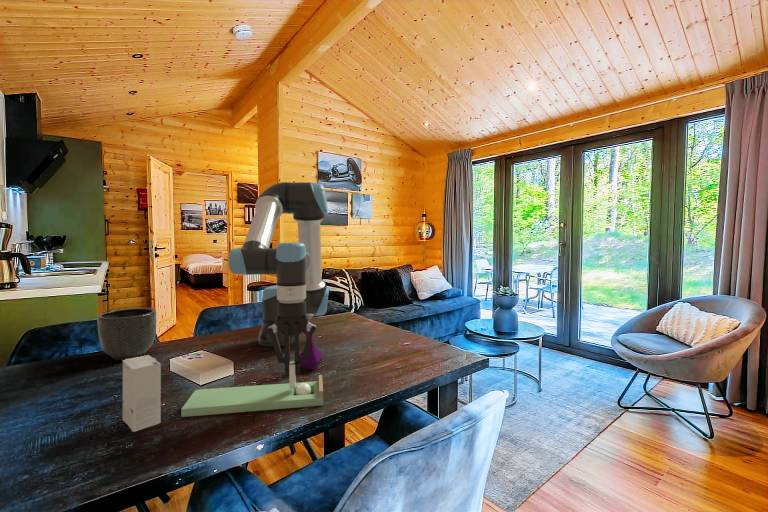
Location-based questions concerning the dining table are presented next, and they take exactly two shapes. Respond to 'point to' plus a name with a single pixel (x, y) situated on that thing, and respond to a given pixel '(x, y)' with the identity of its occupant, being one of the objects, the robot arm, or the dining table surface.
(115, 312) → the planter
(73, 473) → the dining table surface
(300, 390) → the ball
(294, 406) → the green
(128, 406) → the skincare box
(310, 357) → the perfume bottle
